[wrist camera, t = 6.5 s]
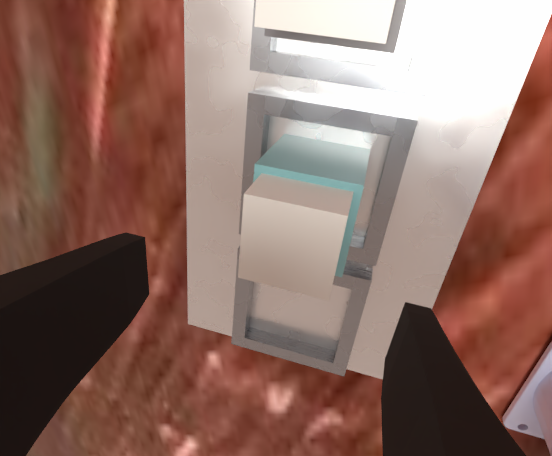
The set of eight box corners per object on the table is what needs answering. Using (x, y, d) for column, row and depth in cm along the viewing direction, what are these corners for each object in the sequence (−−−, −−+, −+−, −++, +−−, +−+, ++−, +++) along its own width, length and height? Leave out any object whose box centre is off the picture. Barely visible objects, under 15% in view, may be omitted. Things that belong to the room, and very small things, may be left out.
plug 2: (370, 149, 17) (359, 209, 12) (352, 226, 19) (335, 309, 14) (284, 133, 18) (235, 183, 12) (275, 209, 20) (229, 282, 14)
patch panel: (612, -151, 12) (639, -172, 10) (401, 378, 23) (401, 398, 22) (188, -167, 14) (167, -186, 13) (191, 319, 26) (181, 334, 25)
